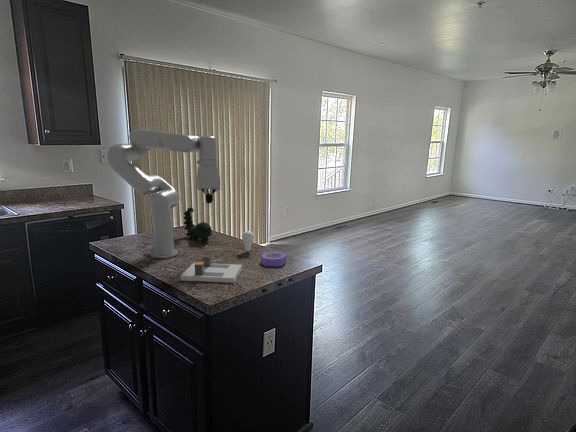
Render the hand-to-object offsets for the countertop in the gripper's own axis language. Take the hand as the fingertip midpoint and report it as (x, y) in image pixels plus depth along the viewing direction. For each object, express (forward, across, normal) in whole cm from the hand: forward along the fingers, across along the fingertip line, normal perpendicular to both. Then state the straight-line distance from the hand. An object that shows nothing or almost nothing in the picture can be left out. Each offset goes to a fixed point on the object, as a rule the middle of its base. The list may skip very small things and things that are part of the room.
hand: (209, 202), depth 170 cm
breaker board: (+27, +7, -22) cm, 35 cm away
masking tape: (+28, +31, -3) cm, 42 cm away
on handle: (+25, +3, -17) cm, 30 cm away
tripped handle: (+25, +3, -27) cm, 36 cm away
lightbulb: (+27, +16, +12) cm, 34 cm away
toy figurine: (+27, -16, +30) cm, 44 cm away
